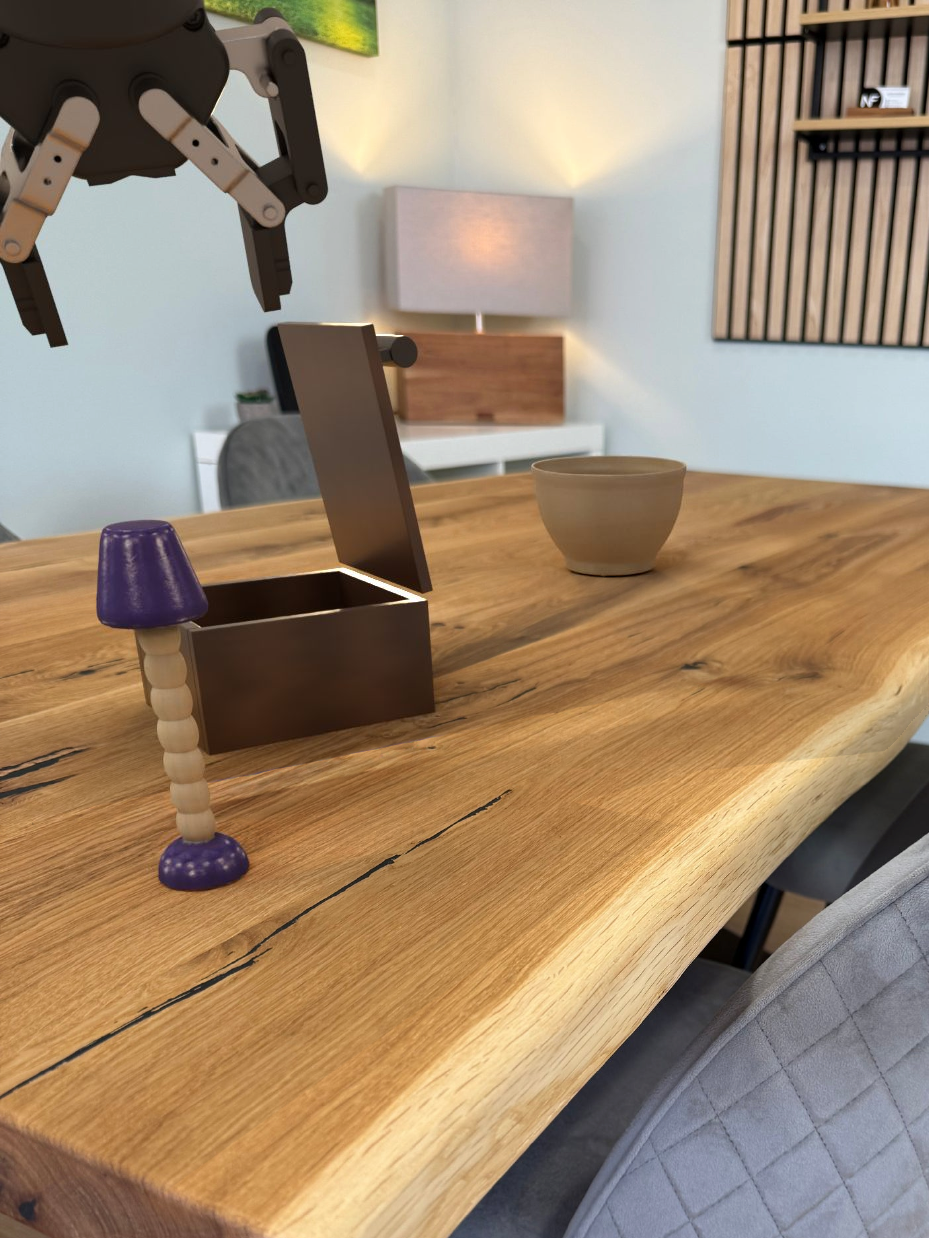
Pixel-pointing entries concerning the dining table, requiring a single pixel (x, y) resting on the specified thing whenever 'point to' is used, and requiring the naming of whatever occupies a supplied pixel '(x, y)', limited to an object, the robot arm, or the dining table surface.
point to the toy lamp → (168, 686)
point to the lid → (358, 444)
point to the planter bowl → (609, 509)
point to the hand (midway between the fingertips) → (163, 318)
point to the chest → (303, 658)
